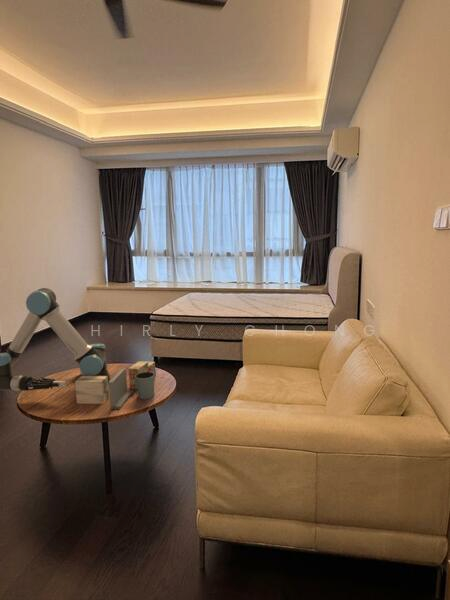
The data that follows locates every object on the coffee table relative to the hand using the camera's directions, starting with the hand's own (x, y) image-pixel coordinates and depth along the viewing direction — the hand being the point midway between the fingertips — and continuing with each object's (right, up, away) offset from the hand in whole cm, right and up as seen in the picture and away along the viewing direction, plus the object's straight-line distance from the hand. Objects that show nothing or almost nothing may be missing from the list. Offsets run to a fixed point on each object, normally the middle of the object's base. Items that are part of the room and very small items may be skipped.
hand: (65, 384), depth 202 cm
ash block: (+14, -9, +1) cm, 17 cm away
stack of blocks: (+36, -4, +25) cm, 44 cm away
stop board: (+30, -8, -1) cm, 31 cm away
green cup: (+41, -8, +5) cm, 42 cm away
